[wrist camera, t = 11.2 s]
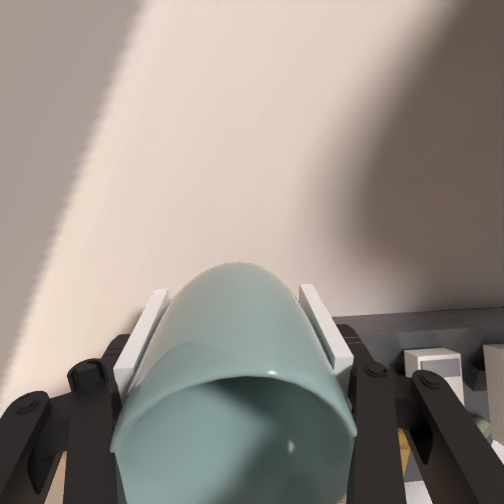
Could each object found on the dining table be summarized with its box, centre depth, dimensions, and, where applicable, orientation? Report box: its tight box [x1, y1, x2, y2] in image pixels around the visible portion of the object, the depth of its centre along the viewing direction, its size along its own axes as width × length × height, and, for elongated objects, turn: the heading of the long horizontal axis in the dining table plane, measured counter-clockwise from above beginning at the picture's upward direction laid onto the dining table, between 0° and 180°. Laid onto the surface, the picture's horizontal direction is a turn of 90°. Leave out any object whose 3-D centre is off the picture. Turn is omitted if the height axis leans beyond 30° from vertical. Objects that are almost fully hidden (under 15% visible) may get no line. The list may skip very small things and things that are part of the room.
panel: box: [331, 307, 504, 482], centre depth 26 cm, size 17×18×3 cm
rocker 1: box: [404, 348, 464, 406], centre depth 21 cm, size 7×3×2 cm, turn 179°
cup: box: [109, 262, 357, 504], centre depth 14 cm, size 8×8×10 cm
